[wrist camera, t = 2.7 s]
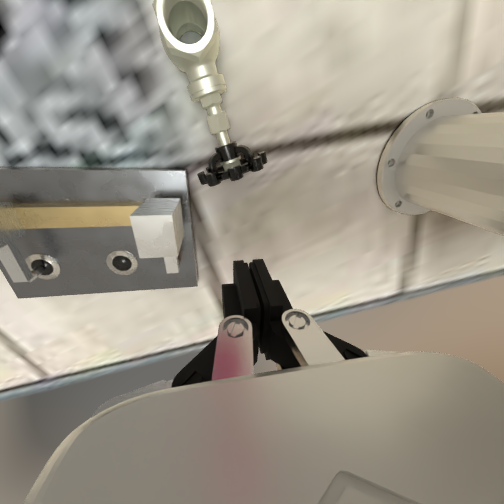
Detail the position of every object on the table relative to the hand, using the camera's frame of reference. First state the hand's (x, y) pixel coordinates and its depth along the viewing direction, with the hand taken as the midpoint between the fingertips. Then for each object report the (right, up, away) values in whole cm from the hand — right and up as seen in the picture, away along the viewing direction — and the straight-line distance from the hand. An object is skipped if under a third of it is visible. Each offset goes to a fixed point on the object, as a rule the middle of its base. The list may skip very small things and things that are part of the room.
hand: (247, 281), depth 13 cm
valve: (-4, +16, +8) cm, 18 cm away
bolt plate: (-17, +4, +12) cm, 21 cm away
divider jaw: (-8, +4, +11) cm, 14 cm away
